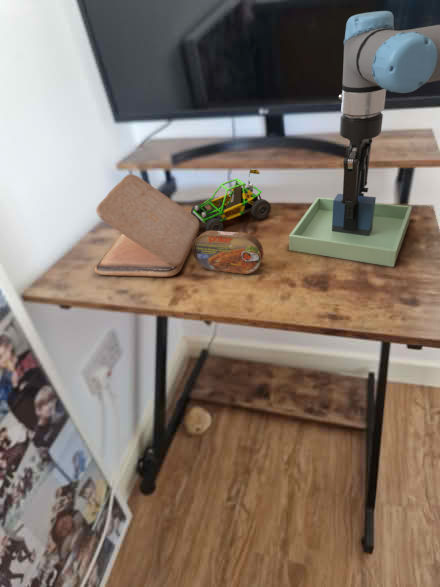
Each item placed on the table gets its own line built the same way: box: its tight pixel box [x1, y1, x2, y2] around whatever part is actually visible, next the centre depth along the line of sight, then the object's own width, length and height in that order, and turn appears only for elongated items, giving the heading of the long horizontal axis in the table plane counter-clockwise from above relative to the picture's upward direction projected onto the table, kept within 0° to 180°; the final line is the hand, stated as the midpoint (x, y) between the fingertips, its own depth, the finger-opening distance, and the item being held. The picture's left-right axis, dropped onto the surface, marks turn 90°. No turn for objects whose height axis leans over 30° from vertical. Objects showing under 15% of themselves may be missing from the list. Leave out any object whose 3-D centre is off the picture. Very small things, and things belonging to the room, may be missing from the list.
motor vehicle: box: [190, 169, 272, 232], centre depth 100 cm, size 12×19×11 cm, turn 115°
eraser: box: [332, 193, 377, 236], centre depth 88 cm, size 8×4×8 cm, turn 62°
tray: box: [288, 196, 413, 268], centre depth 88 cm, size 21×19×4 cm
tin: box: [191, 230, 265, 275], centre depth 82 cm, size 15×3×8 cm, turn 68°
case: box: [94, 174, 201, 278], centre depth 89 cm, size 20×21×16 cm
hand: (352, 224), depth 89 cm, fingers closed on eraser, 3 cm apart
